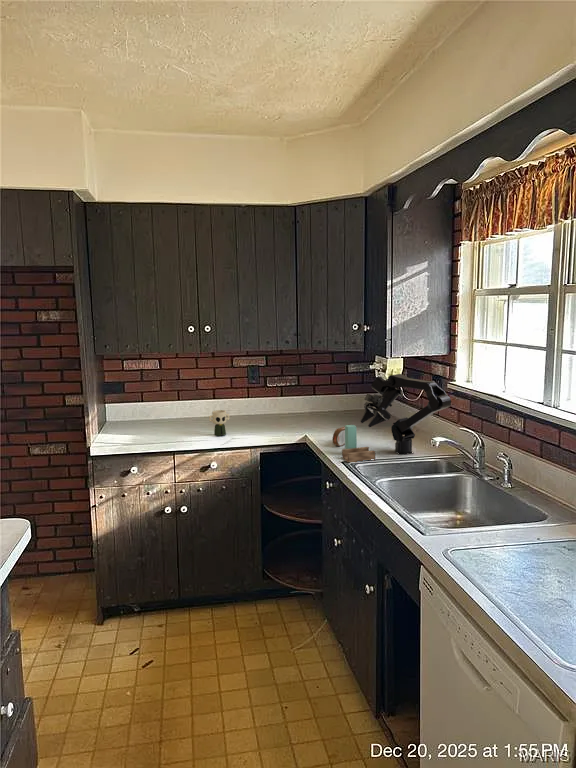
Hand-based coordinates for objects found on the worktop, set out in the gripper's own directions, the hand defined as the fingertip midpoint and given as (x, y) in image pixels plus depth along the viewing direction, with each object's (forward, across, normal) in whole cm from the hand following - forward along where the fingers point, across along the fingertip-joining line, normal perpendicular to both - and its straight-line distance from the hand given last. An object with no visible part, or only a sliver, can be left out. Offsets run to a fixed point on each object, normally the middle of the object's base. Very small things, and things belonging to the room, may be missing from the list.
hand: (364, 424), depth 258 cm
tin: (+12, -17, +6) cm, 22 cm away
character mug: (+50, -58, -32) cm, 83 cm away
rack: (+14, +9, +4) cm, 17 cm away
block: (+14, 0, +4) cm, 15 cm away
